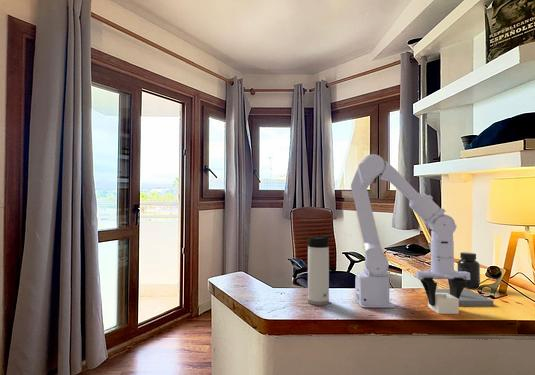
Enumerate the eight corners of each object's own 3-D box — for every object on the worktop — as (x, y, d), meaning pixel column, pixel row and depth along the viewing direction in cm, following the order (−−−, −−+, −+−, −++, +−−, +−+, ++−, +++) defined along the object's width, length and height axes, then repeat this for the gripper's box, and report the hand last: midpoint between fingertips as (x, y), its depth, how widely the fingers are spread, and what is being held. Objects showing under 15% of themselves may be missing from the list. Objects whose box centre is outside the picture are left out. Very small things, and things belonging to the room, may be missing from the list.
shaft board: (445, 305, 93) (445, 283, 93) (425, 293, 105) (425, 273, 105) (493, 305, 93) (492, 283, 93) (467, 293, 105) (467, 274, 105)
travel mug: (331, 305, 92) (331, 236, 93) (308, 305, 92) (308, 236, 93) (328, 299, 98) (328, 234, 99) (307, 298, 99) (307, 234, 99)
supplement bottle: (484, 289, 111) (484, 254, 111) (464, 289, 111) (464, 254, 111) (472, 284, 117) (471, 251, 118) (453, 284, 118) (453, 251, 118)
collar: (438, 313, 86) (438, 298, 87) (427, 306, 92) (427, 292, 92) (458, 313, 86) (458, 298, 87) (447, 306, 92) (447, 292, 92)
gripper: (423, 258, 86) (424, 309, 85) (477, 259, 86) (478, 310, 85) (411, 254, 93) (412, 301, 92) (461, 254, 93) (462, 301, 92)
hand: (442, 305), depth 89 cm, fingers closed on collar, 6 cm apart
